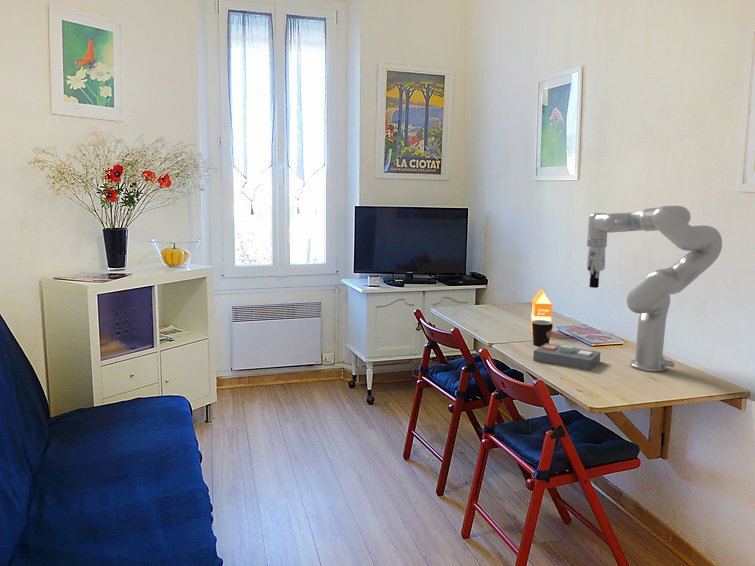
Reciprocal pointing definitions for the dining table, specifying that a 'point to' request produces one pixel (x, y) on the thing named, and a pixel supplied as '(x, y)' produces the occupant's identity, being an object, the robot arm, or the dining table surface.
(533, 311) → the orange juice
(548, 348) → the key terracotta
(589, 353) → the key cream
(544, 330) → the coffee mug
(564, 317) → the dining table surface
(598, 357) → the grey button panel
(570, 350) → the key sage
